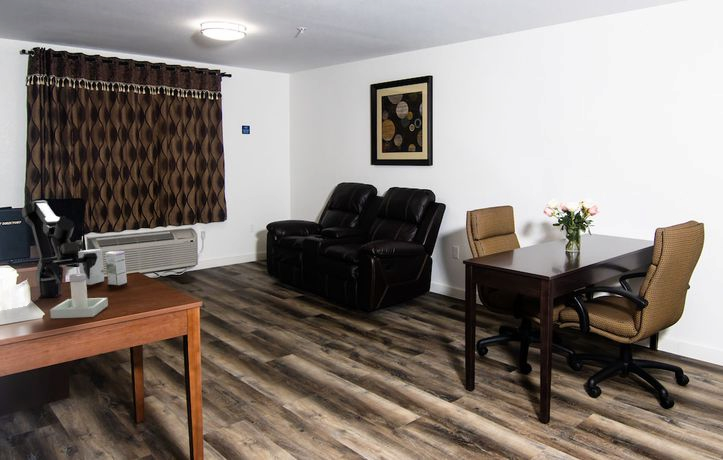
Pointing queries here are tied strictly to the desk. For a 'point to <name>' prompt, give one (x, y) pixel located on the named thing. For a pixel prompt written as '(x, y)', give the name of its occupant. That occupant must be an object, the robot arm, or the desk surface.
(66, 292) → the desk surface
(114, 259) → the syrup box
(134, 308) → the desk surface
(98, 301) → the tray
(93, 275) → the skincare box
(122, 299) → the desk surface
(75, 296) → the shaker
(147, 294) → the desk surface
